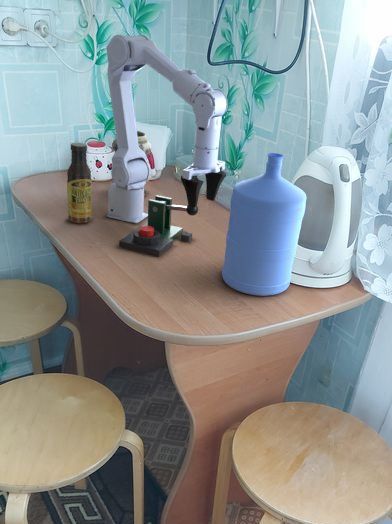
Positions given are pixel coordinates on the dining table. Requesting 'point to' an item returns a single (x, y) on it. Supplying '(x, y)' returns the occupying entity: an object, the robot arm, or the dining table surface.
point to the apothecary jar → (143, 145)
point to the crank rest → (186, 237)
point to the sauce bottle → (79, 185)
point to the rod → (181, 208)
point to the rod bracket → (161, 218)
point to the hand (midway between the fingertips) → (201, 203)
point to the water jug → (263, 232)
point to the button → (146, 231)
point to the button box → (146, 243)
